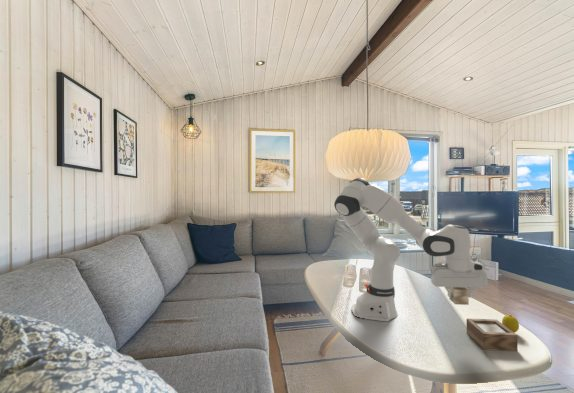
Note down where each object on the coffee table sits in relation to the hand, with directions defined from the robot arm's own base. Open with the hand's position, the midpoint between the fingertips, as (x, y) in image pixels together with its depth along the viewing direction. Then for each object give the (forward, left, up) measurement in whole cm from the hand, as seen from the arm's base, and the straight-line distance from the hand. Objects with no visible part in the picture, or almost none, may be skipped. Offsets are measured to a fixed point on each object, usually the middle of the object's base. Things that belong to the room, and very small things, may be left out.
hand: (458, 296), depth 107 cm
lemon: (+24, +7, -19) cm, 31 cm away
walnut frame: (+12, 0, -18) cm, 22 cm away
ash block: (0, 0, -2) cm, 2 cm away
